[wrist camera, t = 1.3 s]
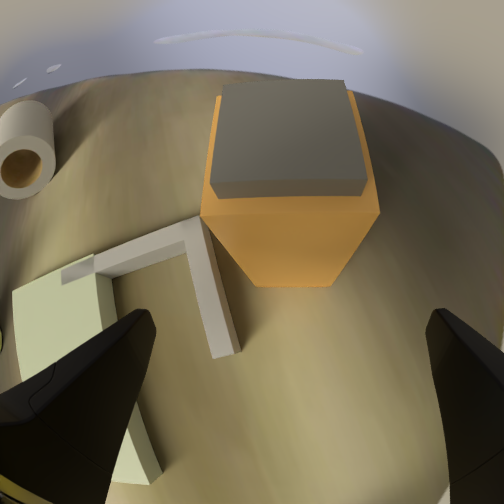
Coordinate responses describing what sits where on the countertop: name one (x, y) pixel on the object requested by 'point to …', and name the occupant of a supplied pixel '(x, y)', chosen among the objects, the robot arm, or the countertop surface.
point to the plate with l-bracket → (104, 314)
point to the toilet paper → (26, 150)
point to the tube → (0, 340)
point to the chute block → (289, 180)
